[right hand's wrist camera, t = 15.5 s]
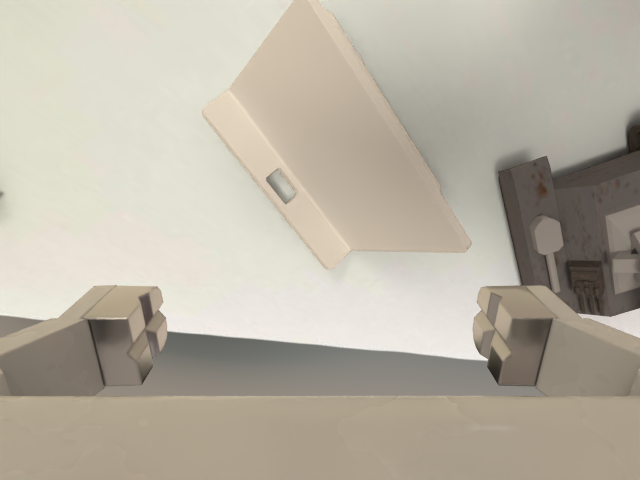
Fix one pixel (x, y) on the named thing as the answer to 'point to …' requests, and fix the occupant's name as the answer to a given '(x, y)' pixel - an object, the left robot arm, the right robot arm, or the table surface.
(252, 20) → the table surface
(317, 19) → the tablet stand
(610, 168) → the toy
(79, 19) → the table surface
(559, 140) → the table surface
